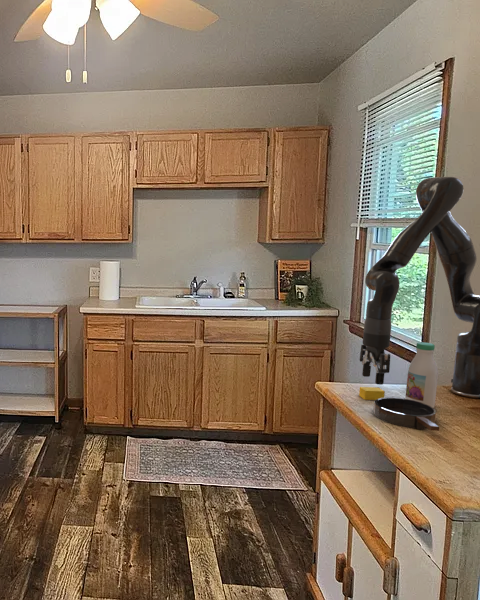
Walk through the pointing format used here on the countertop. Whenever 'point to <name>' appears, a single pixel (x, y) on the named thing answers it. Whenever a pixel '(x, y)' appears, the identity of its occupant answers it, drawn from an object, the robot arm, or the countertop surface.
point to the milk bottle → (422, 375)
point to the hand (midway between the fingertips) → (372, 380)
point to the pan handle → (425, 424)
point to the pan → (402, 411)
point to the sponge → (371, 393)
